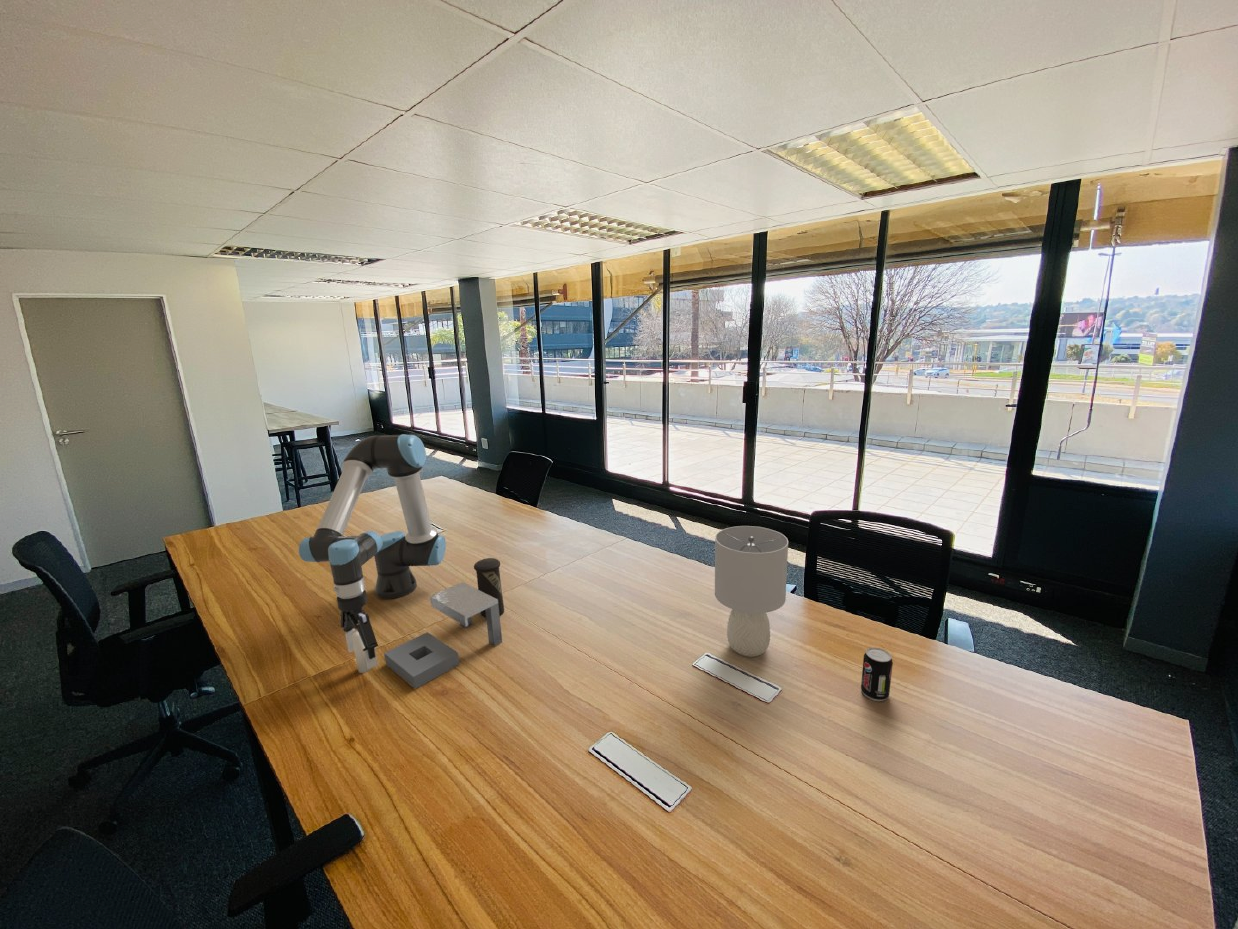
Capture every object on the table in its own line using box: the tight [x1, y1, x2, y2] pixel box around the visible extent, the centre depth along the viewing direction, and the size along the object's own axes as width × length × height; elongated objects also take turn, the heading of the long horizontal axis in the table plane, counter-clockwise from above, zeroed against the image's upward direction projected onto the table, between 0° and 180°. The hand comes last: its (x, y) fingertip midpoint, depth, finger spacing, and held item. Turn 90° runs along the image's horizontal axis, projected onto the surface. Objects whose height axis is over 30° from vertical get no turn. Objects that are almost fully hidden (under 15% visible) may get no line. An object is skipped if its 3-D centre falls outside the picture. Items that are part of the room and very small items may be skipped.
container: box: [473, 557, 505, 619], centre depth 175 cm, size 9×9×20 cm
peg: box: [352, 630, 371, 674], centre depth 146 cm, size 4×4×12 cm
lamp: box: [714, 525, 789, 658], centre depth 146 cm, size 20×20×37 cm
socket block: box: [383, 631, 460, 690], centre depth 149 cm, size 18×14×4 cm
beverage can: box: [860, 647, 894, 702], centre depth 128 cm, size 7×7×12 cm
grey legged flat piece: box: [429, 581, 503, 647], centre depth 159 cm, size 20×12×15 cm, turn 50°
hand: (362, 658), depth 147 cm, fingers open, 12 cm apart
